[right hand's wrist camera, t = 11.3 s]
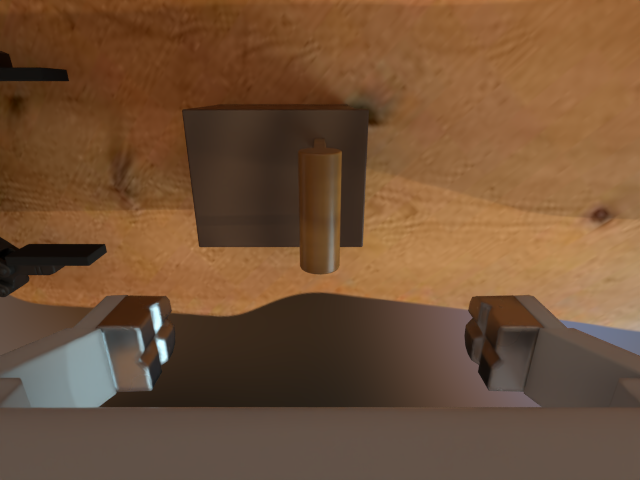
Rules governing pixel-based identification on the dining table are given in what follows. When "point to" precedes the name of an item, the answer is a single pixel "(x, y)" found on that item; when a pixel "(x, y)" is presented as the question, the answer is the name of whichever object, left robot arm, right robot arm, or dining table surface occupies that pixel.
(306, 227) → the lid
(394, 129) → the dining table surface
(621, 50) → the dining table surface
